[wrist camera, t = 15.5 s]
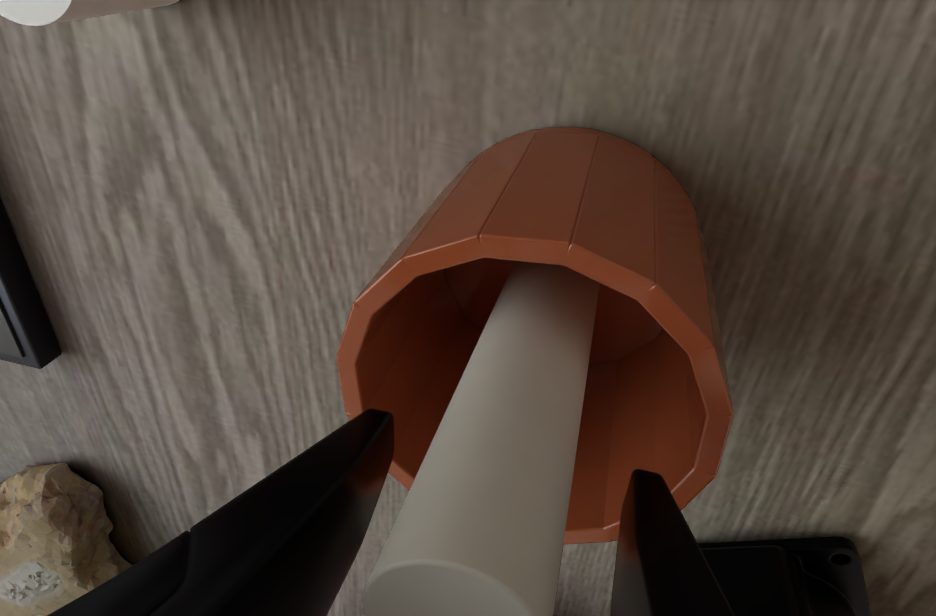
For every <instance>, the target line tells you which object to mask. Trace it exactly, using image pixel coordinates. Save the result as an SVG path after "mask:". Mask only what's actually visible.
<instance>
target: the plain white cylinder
mask: <svg viewBox="0 0 936 616" xmlns="http://www.w3.org/2000/svg"><path fill="white" fill-rule="evenodd" d="M599 286H600V283H599V282H597V281H595V280H593V279H591V278H589V277H587V276H585V275H583V274H581V273H578V272H576V271H574V270H572V269H570V268H568V267H566V266H564V265H554V264H544V263H534V262H523V261H515V262H514V265H513V267H512V269H511V271H510V273H509V275H508V278H507V280H506V282H505V284H504V286H503V288H502V291H501V293H500V295H499V297H498V299H497V301H496V304H495V306H494V308H493V310H492V312H491V314H490V317H489V319H488V321H487V323H486V325H485V327H484V330H483V332H482V334H481V336H480V338H479V340H478V343H477V345H476V347H475V349H474V351H473V353H472V356H471V358H470V360H469V362H468V364H467V367H466V369H465V371H464V373H463V375H462V377H461V380H460V382H459V384H458V386H457V388H456V390H455V393H454V395H453V397H452V399H451V401H450V403H449V406H448V408H447V410H446V412H445V414H444V416H443V419H442V421H441V423H440V425H439V427H438V429H437V432H436V434H435V436H434V438H433V440H432V442H431V445H430V447H429V449H428V451H427V453H426V455H425V458H424V460H423V462H422V464H421V466H420V468H419V471H418V473H417V475H416V477H415V479H414V481H413V484H412V486H411V488H410V490H409V492H408V495H407V497H406V499H405V501H404V503H403V505H402V508H401V510H400V512H399V514H398V516H397V518H396V521H395V523H394V525H393V527H392V529H391V531H390V534H389V536H388V538H387V540H386V542H385V544H384V547H383V549H382V551H381V553H380V555H379V557H378V560H377V562H376V564H375V566H374V568H373V570H372V573H371V575H370V577H369V579H368V581H367V584H366V586H365V589H364V593H363V610H364V615H365V616H553V615H554V608H555V601H556V594H557V587H558V579H559V572H560V565H561V558H562V551H563V544H564V536H565V529H566V522H567V515H568V508H569V501H570V493H571V486H572V479H573V472H574V465H575V458H576V450H577V443H578V436H579V429H580V422H581V415H582V407H583V400H584V393H585V386H586V379H587V372H588V364H589V357H590V350H591V343H592V336H593V329H594V321H595V314H596V307H597V300H598V293H599Z"/></svg>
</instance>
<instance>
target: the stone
mask: <svg viewBox="0 0 936 616" xmlns="http://www.w3.org/2000/svg"><path fill="white" fill-rule="evenodd" d="M112 529H113V524H112V522H111V520H110V519H109V518H108V517H107V515H106V510H105V508H104V506H103V492H102V491H101V490H100V489H99V488H98V487H97V486H96V485H94V484H92V483H89V482H88V481H86V480H84V479H83V478H81V477H80V476H79V475H77V474H75V473H73V472H72V471H71V470H70V468H69V467H68V465H67V464H66V463H61V462H59V463H57V464H50V465H38V466H29V465H27V466H26V467H24V468H23V469H22V470H21V471H20V472H18V473H17V474H16V475H15V476H14V477H10V478H9V479H7V480H6V481H4V482H3V483H2V484H0V616H36V615H43V616H47V615H49V614H50V613H52V612H54V611H56V610H57V609H59V608H61V607H63V606H64V605H66V604H68V603H70V602H72V601H73V600H75V599H77V598H79V597H80V596H82V595H84V594H86V593H88V592H89V591H91V590H93V589H94V588H96V587H98V586H100V585H101V584H103V583H105V582H106V581H108V580H110V579H111V578H113V577H115V576H117V575H118V574H120V573H122V572H123V571H125V570H127V569H128V568H130V567H132V566H133V565H132V564H130V563H129V562H127V561H126V560H124V559H123V558H122V557H121V556H120V555H119V553H118V552H117V550H116V548H115V546H114V545H113V544H112V543H111V542H109V535H108V534H109V533H110V532H111V531H112Z"/></svg>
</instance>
